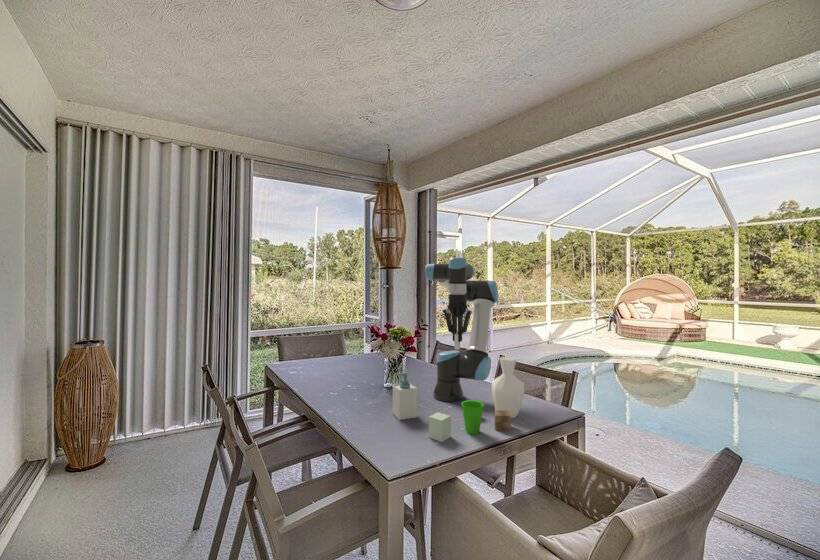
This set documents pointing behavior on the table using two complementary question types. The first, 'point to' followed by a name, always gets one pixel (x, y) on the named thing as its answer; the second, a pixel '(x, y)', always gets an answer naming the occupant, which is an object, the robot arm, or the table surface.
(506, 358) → the vase
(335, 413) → the table surface
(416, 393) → the soap bottle
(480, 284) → the robot arm
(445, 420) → the sage block
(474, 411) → the cup
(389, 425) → the table surface
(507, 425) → the walnut block
